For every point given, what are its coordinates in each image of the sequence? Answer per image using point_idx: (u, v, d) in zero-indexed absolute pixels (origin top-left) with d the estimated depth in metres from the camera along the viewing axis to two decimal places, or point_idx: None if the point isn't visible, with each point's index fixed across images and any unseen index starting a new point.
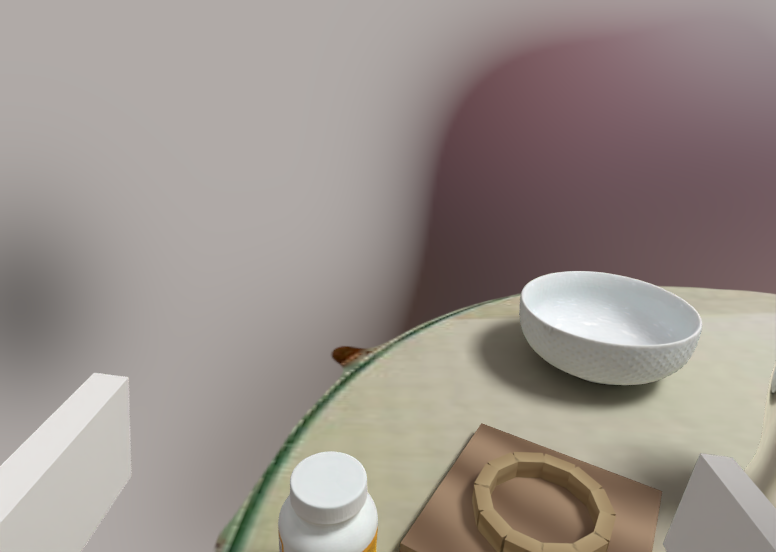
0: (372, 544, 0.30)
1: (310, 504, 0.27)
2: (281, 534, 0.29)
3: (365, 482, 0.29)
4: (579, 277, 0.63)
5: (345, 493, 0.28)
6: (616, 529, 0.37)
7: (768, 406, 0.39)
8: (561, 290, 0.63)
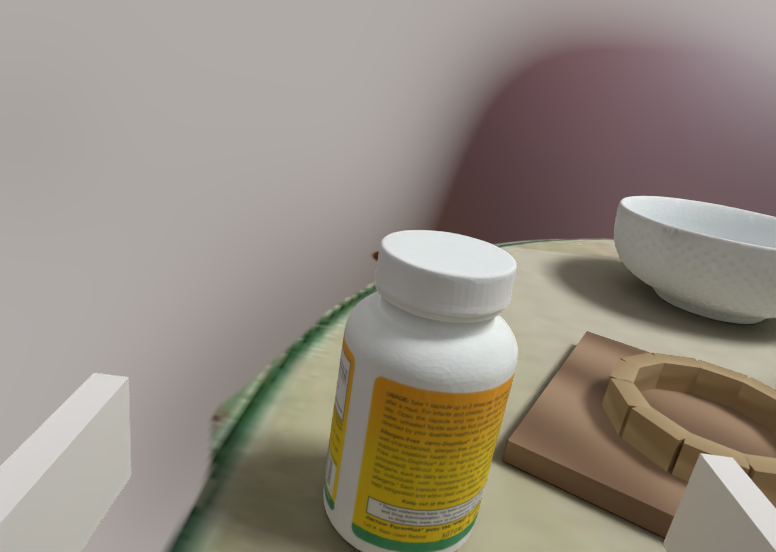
0: (510, 385, 0.16)
1: (426, 268, 0.14)
2: (353, 343, 0.16)
3: (515, 263, 0.16)
4: (681, 206, 0.51)
5: (485, 267, 0.15)
6: None
7: None
8: (658, 219, 0.51)
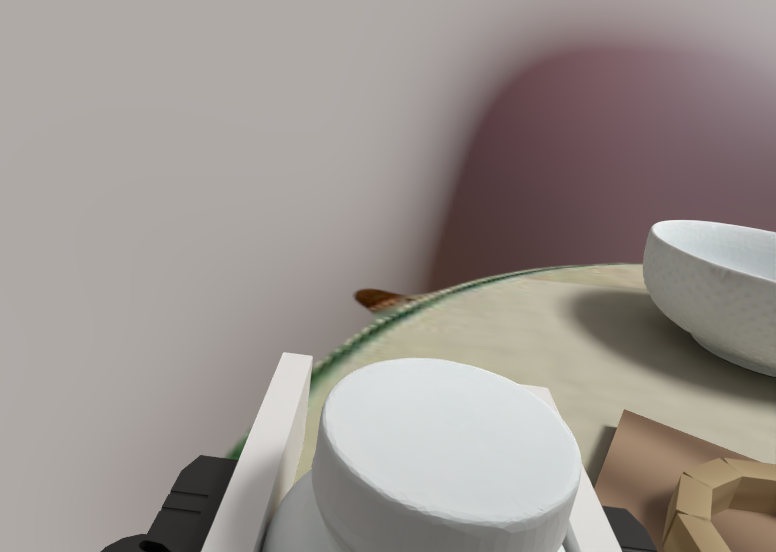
0: None
1: (405, 502, 0.07)
2: None
3: (577, 449, 0.08)
4: (718, 231, 0.43)
5: (525, 476, 0.08)
6: None
7: None
8: (691, 247, 0.43)
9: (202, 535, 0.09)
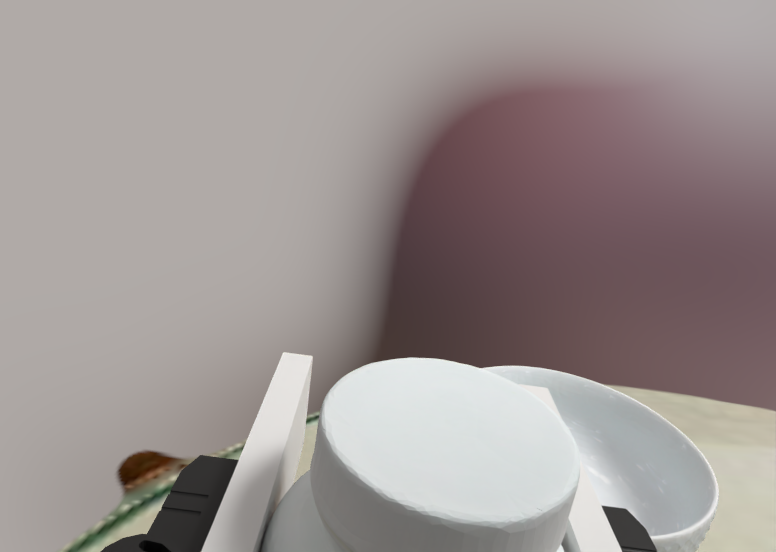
0: None
1: (403, 501, 0.07)
2: None
3: (576, 449, 0.08)
4: (532, 376, 0.42)
5: (524, 476, 0.08)
6: None
7: None
8: None
9: (202, 534, 0.09)
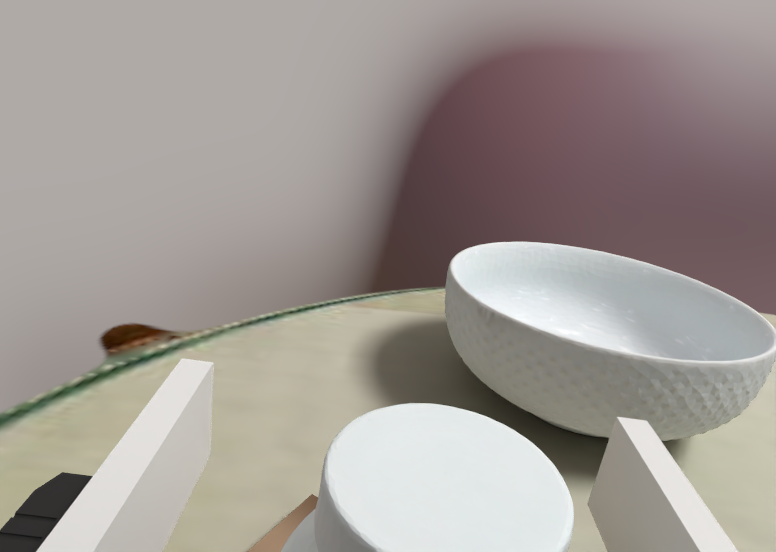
0: None
1: None
2: None
3: (570, 500, 0.09)
4: (557, 254, 0.38)
5: (519, 531, 0.08)
6: None
7: None
8: (525, 272, 0.38)
9: None
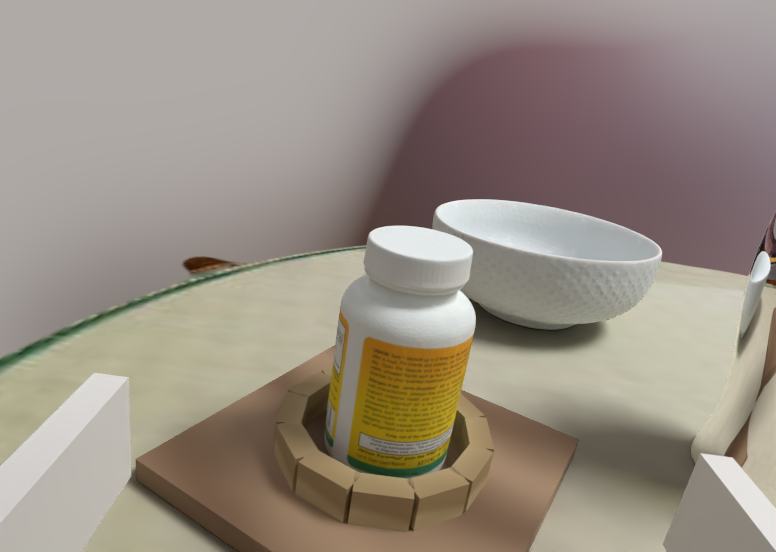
0: (469, 345, 0.21)
1: (402, 254, 0.19)
2: (347, 313, 0.21)
3: (471, 250, 0.21)
4: (518, 209, 0.50)
5: (448, 253, 0.20)
6: (495, 478, 0.24)
7: (742, 318, 0.26)
8: (494, 223, 0.50)
9: None
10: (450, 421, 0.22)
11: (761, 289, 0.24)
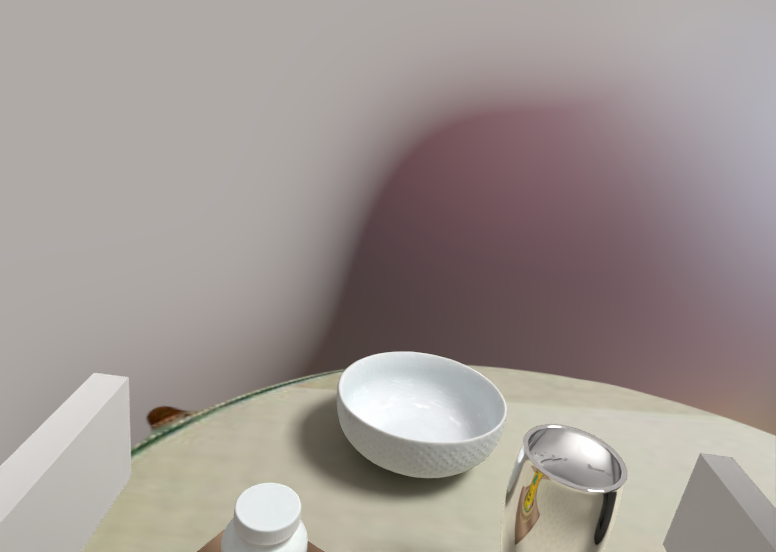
0: None
1: (249, 526, 0.32)
2: (222, 551, 0.34)
3: (299, 512, 0.34)
4: (416, 358, 0.63)
5: (280, 520, 0.33)
6: None
7: None
8: (397, 369, 0.63)
9: None
10: None
11: (504, 512, 0.38)
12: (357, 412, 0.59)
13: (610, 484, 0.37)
